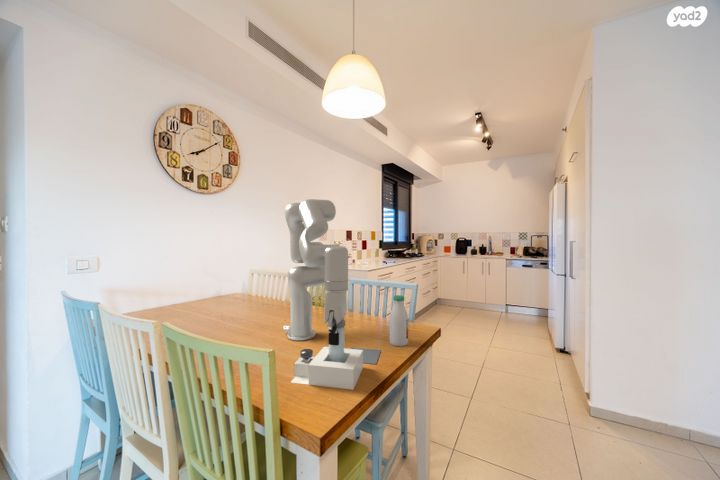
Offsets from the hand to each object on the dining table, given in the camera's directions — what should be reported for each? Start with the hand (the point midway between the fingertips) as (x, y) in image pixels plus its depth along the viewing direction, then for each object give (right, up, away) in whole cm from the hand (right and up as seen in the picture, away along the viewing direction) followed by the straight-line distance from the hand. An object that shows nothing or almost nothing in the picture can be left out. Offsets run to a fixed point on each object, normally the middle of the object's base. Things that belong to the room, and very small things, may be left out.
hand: (336, 340), depth 92 cm
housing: (-3, -12, +1) cm, 12 cm away
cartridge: (0, -8, 0) cm, 8 cm away
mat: (+9, -12, +14) cm, 21 cm away
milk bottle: (+24, -11, +29) cm, 39 cm away
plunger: (-10, -11, +2) cm, 15 cm away
